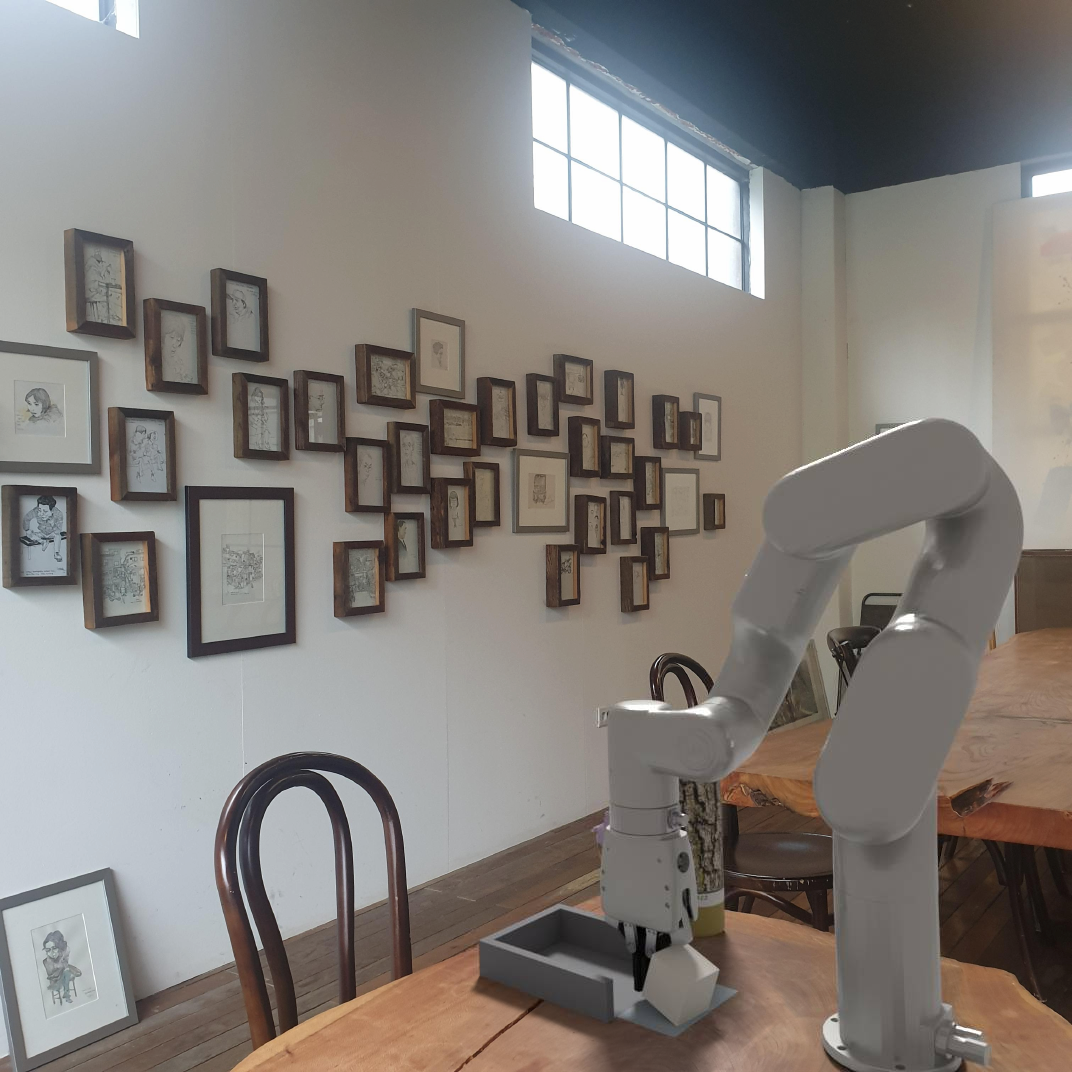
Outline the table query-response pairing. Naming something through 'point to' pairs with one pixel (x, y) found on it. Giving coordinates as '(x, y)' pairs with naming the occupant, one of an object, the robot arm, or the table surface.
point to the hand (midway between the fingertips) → (648, 988)
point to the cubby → (576, 967)
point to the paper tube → (705, 852)
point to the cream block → (680, 983)
